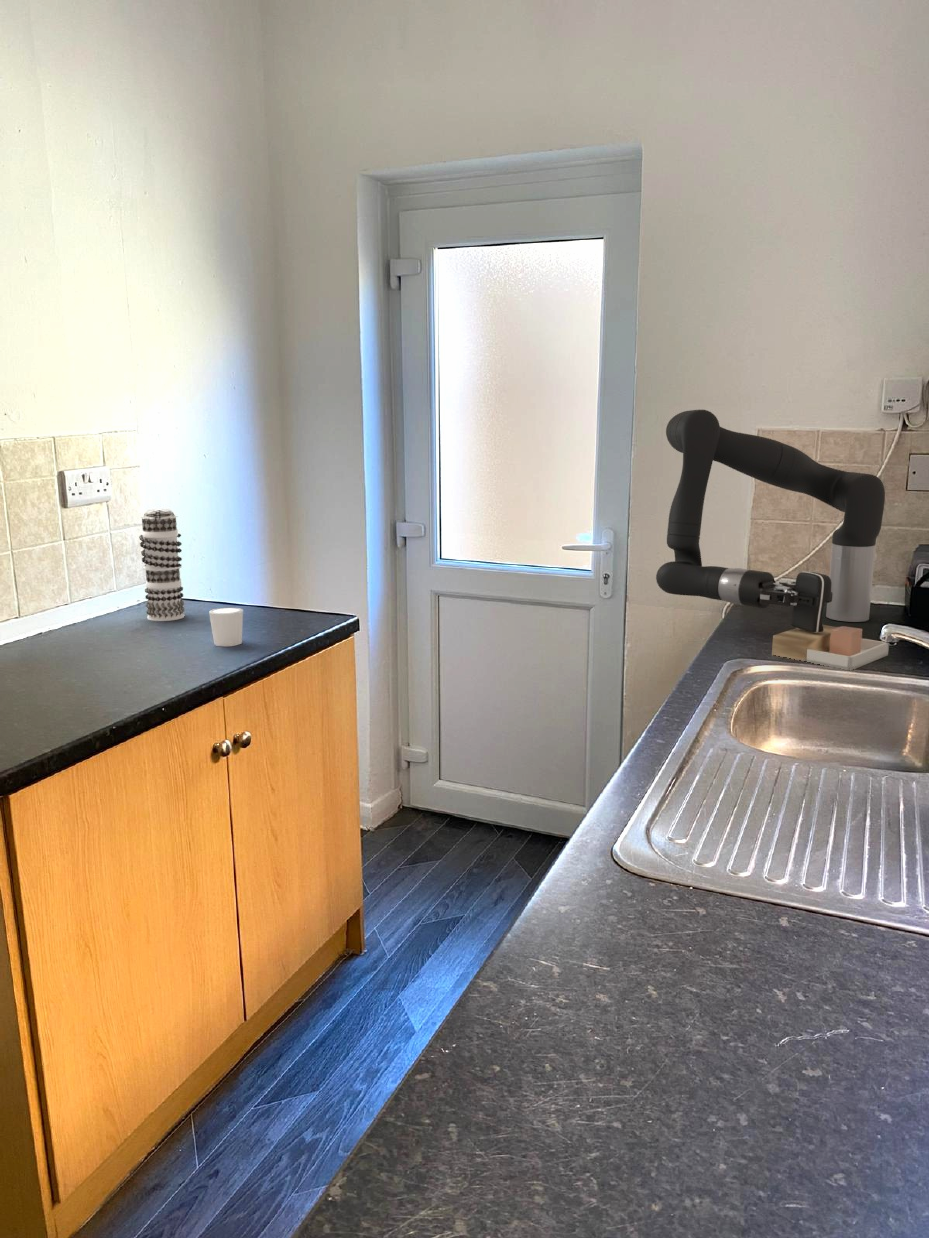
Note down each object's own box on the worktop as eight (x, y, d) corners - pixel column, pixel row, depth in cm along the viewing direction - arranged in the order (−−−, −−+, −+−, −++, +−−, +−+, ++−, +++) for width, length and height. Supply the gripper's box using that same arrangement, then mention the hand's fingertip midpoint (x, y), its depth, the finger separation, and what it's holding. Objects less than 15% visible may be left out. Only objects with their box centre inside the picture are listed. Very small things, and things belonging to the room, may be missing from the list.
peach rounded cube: (842, 625, 188) (862, 629, 185) (840, 650, 189) (860, 654, 186) (831, 629, 185) (851, 633, 182) (829, 655, 186) (849, 658, 183)
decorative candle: (147, 614, 228) (140, 508, 222) (188, 612, 229) (181, 508, 224) (142, 622, 219) (134, 512, 214) (184, 620, 221) (177, 511, 215)
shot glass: (247, 645, 197) (245, 612, 196) (213, 648, 195) (211, 614, 193) (242, 638, 203) (240, 605, 202) (209, 641, 201) (207, 608, 199)
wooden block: (810, 641, 199) (811, 623, 198) (843, 647, 194) (844, 628, 193) (771, 655, 188) (773, 635, 187) (805, 661, 183) (807, 641, 182)
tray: (845, 647, 194) (846, 635, 193) (888, 655, 188) (889, 642, 187) (806, 662, 183) (807, 649, 182) (850, 670, 177) (851, 657, 176)
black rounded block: (829, 633, 188) (836, 575, 185) (814, 634, 186) (820, 576, 184) (804, 625, 194) (810, 569, 192) (789, 626, 193) (795, 570, 190)
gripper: (729, 573, 193) (808, 585, 181) (765, 565, 203) (843, 576, 191) (726, 610, 195) (805, 623, 183) (762, 600, 204) (839, 612, 193)
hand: (824, 599), depth 187 cm, fingers closed on black rounded block, 5 cm apart
